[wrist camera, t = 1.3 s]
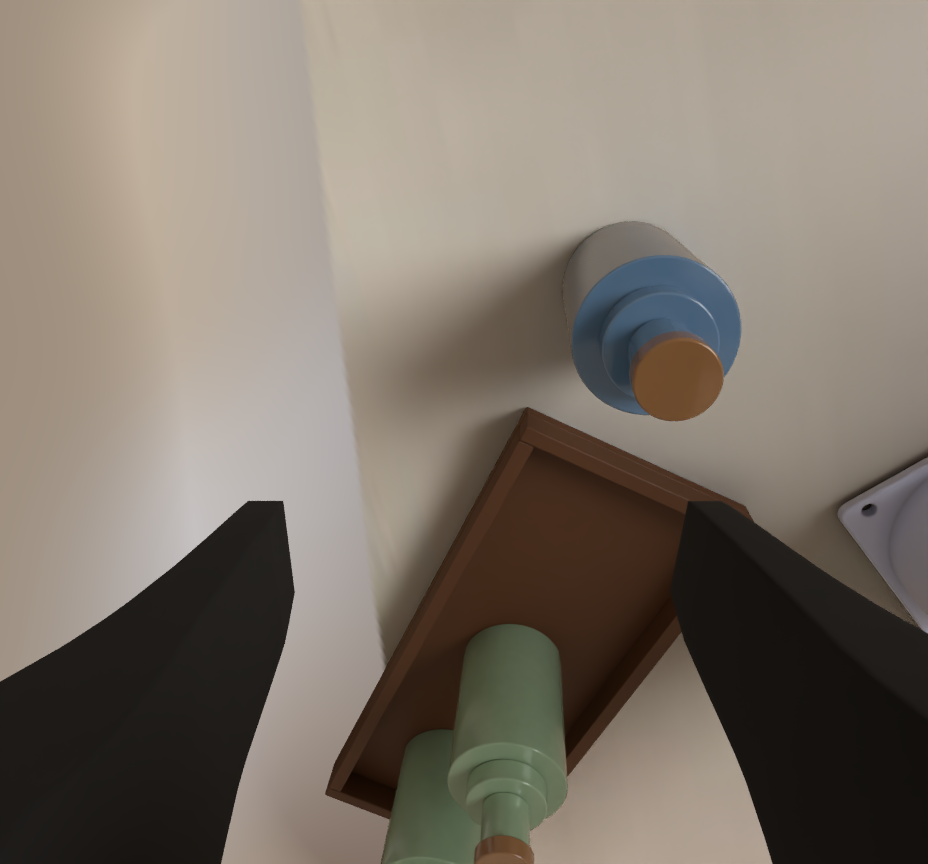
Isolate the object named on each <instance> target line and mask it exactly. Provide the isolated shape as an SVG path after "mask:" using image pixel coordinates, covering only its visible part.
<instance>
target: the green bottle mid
mask: <svg viewBox="0 0 928 864" xmlns="http://www.w3.org/2000/svg"><path fill="white" fill-rule="evenodd" d="M447 782H448V787H449V791H450V793H451V795H452V797H453V799H454V800H455V801H456V803H457V804H458V805H459V806H460V807H461V808H462V809H463V810H465V811H466V812H467V813H468V814H469V816H470V817H471V818H472V820H473V821H475V822H476V823H477V824H478V825H480V826H481V831H480V842H479V843H478V844H477V846H476V848H475V850H474V861H473V864H534V854H533V851H532V849H531V848H530V830H532V829H534V828H536V827H537V826H538V825H540V824H541V823H542V822H543V820H544V819H546V818H548V817H549V816H551V815H552V814H554V813H555V812H556V811H557V810H558V809H559V808H560V807H561V805H562V804H563V802H564V800H565V798H566V795H567V788H568V784H567V764H566V745H565V725H564V705H563V686H562V666H561V657H560V654H559V651H558V649H557V647H556V646H555V645H554V643H553V642H552V641H551V640H550V639H549V638H548V637H547V636H546V635H544V634H543V633H541V632H540V631H538V630H536V629H534V628H531V627H528V626H524V625H519V624H500V625H495V626H491V627H488V628H486V629H484V630H482V631H480V632H479V633H477V634H476V635H475V636H474V637H473V638H472V639H471V640H470V641H469V643H468V644H467V646H466V648H465V651H464V655H463V662H462V670H461V678H460V685H459V693H458V701H457V708H456V716H455V723H454V731H453V739H452V746H451V754H450V762H449V769H448V777H447Z"/></svg>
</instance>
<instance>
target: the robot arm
mask: <svg viewBox="0 0 928 864" xmlns="http://www.w3.org/2000/svg"><path fill="white" fill-rule="evenodd" d="M867 504H872V506H871V507H870V508H869V509H868V510H865V511H862V508H863V507H864V506H865V505H867ZM838 517H839V520H840V521H841V522H842V524H843V525H844V526H845V528H846V529H847V530H848V532H849V533H850V534H851V536H852V537H853V538H854V540H855V541H856V542H857V544H858V545H859V546H860V548H861V549H862V550H863V552H864V553H865V555H866V556H867V557H868V559H869V560H870V561H871V563H872V564H873V565H874V567H875V568H876V569H877V571H878V572H879V573H880V575H881V576H882V577H883V579H884V580H885V581H886V583H887V584H888V585H889V587H890V588H891V589H892V591H893V592H894V593H895V595H896V596H897V597H898V599H899V600H900V602H901V603H902V604H903V606H904V607H905V608H906V610H907V611H908V612H909V614H910V615H911V616H912V618H913V619H914V620H915V622H916V623H917V624H918V626H919V627H920V628H921V629H919V628H917V627H915V626H913V625H911V624H910V623H908V622H906V621H904V620H902V619H900V618H899V617H897V616H895V615H893V614H892V613H890V612H888V611H886V610H885V609H883V608H881V607H879V606H878V605H876V604H874V603H873V602H871V601H870V600H868V599H866V598H865V597H863V596H862V595H860V594H858V593H857V592H855V591H854V590H852V589H850V588H849V587H847V586H846V585H844V584H842V583H841V582H839V581H838V580H836V579H835V578H833V577H832V576H830V575H829V574H827V573H826V572H824V571H823V570H821V569H820V568H818V567H817V566H815V565H814V564H812V563H811V562H809V561H808V560H807V559H805V558H804V557H802V556H801V555H799V554H798V553H796V552H795V551H794V550H792V549H791V548H789V547H788V546H787V545H785V544H784V543H782V542H781V541H779V540H778V539H777V538H775V537H774V536H772V535H771V534H770V533H768V532H767V531H765V530H764V529H763V528H761V527H760V526H758V525H757V524H756V523H754V522H753V521H751V520H750V519H749V518H747V517H746V516H744V515H743V514H741V513H740V512H738V511H737V510H735V509H734V508H732V507H731V506H729V505H727V504H726V503H724V502H722V501H688V504H687V509H686V514H685V519H684V524H683V529H682V534H681V539H680V544H679V549H678V553H677V558H676V563H675V568H674V573H673V578H672V583H671V588H670V592H671V596H672V600H673V603H674V607H675V611H676V614H677V618H678V621H679V625H680V628H681V631H682V634H683V638H684V641H685V643H686V645H687V648H688V650H689V652H690V655H691V657H692V659H693V662H694V664H695V666H696V668H697V671H698V673H699V675H700V677H701V680H702V682H703V684H704V686H705V689H706V691H707V693H708V695H709V697H710V700H711V702H712V704H713V706H714V709H715V711H716V713H717V715H718V717H719V720H720V722H721V724H722V726H723V728H724V731H725V733H726V735H727V737H728V740H729V742H730V744H731V746H732V748H733V751H734V753H735V755H736V758H737V760H738V763H739V765H740V768H741V770H742V773H743V775H744V778H745V780H746V783H747V786H748V789H749V792H750V795H751V798H752V801H753V804H754V807H755V810H756V813H757V816H758V819H759V822H760V825H761V828H762V831H763V834H764V837H765V840H766V843H767V847H768V850H769V853H770V856H771V860H772V863H773V864H928V457H927V458H925V459H923V460H921V461H920V462H918V463H916V464H914V465H912V466H911V467H909V468H907V469H905V470H904V471H902V472H900V473H898V474H896V475H895V476H893V477H891V478H889V479H887V480H886V481H884V482H882V483H880V484H878V485H877V486H875V487H873V488H871V489H870V490H868V491H866V492H864V493H862V494H861V495H859V496H857V497H855V498H853V499H852V500H850V501H848V502H846V503H845V504H843V505H842V506H841V507H840V509H839V510H838ZM294 593H295V592H294V585H293V576H292V568H291V560H290V552H289V544H288V536H287V528H286V520H285V512H284V504H283V501H248V502H247V503H245V504H244V505H243V506H242V507H241V508H239V509H238V510H237V511H236V512H235V513H234V514H233V515H232V516H231V517H229V518H228V519H227V520H226V521H225V522H224V523H223V524H222V525H221V526H219V527H218V528H217V529H216V530H215V531H214V532H213V533H212V534H211V535H209V536H208V537H207V538H206V539H205V540H204V541H203V542H202V543H200V544H199V545H198V546H197V547H196V548H195V549H193V550H192V551H191V552H190V553H189V554H188V555H187V556H186V557H184V558H183V559H182V560H181V561H180V562H178V563H177V564H176V565H175V566H174V567H172V568H171V569H170V570H169V571H168V572H166V573H165V574H164V575H162V576H161V577H160V578H158V579H157V580H156V581H155V582H153V583H152V584H151V585H150V586H148V587H147V588H146V589H145V590H143V591H142V592H141V593H139V594H138V595H137V596H136V597H134V598H133V599H132V600H130V601H129V602H128V603H126V604H125V605H124V606H122V607H121V608H119V609H118V610H117V611H115V612H114V613H112V614H111V615H110V616H108V617H107V618H105V619H104V620H102V621H101V622H99V623H98V624H96V625H95V626H93V627H92V628H90V629H89V630H87V631H86V632H84V633H83V634H81V635H79V636H78V637H76V638H75V639H73V640H72V641H70V642H69V643H67V644H66V645H64V646H62V647H61V648H59V649H57V650H55V651H54V652H52V653H50V654H48V655H47V656H45V657H43V658H41V659H39V660H38V661H36V662H34V663H33V664H31V665H29V666H27V667H25V668H24V669H22V670H20V671H19V672H17V673H15V674H13V675H11V676H10V677H8V678H6V679H4V680H3V681H1V682H0V864H221V860H222V856H223V852H224V847H225V842H226V838H227V834H228V829H229V824H230V821H231V816H232V812H233V807H234V803H235V799H236V794H237V790H238V786H239V782H240V779H241V775H242V772H243V768H244V765H245V761H246V758H247V755H248V752H249V749H250V746H251V743H252V740H253V737H254V734H255V731H256V728H257V725H258V723H259V719H260V717H261V714H262V711H263V708H264V705H265V702H266V699H267V696H268V693H269V690H270V687H271V684H272V681H273V678H274V675H275V672H276V669H277V665H278V662H279V660H280V656H281V653H282V650H283V647H284V644H285V639H286V635H287V629H288V624H289V619H290V614H291V609H292V603H293V598H294Z"/></svg>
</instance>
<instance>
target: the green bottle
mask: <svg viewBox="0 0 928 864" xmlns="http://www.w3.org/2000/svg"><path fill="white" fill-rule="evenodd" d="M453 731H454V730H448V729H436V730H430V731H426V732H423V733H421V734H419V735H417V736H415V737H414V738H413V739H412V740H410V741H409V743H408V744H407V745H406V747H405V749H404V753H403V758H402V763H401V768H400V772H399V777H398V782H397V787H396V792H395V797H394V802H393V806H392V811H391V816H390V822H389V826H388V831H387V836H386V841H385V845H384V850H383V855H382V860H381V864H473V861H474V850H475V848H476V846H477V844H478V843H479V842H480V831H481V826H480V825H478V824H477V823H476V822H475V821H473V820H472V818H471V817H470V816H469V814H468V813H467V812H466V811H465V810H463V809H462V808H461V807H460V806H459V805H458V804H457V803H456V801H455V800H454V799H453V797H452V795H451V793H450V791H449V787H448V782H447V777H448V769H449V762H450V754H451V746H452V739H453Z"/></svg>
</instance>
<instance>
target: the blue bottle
mask: <svg viewBox="0 0 928 864" xmlns="http://www.w3.org/2000/svg"><path fill="white" fill-rule="evenodd" d="M562 293H563V302H564V308H565V314H566V320H567V326H568V332H569V339H570V345H571V351H572V356H573V360H574V364H575V367H576V369H577V372H578V374H579V376H580V378H581V379H582V381H583V383H584V384H585V385H586V386H587V388H588V389H589V390H590V391H591V392H592V393H593V394H594V395H595V396H596V397H597V398H599V399H600V400H601V401H603V402H604V403H606V404H608V405H609V406H611V407H613V408H616V409H618V410H621V411H624V412H628V413H632V414H639V415H651V416H653V417H655V418H658V419H661V420H666V421H683V420H687V419H690V418H693V417H695V416H697V415H699V414H701V413H703V412H704V411H705V410H707V409H708V408H709V407H710V406H711V405H712V404H713V403H714V401H715V400H716V399H717V397H718V395H719V393H720V391H721V389H722V385H723V379H724V377H725V375H726V374H727V373H728V371H729V369H730V367H731V366H732V364H733V362H734V359H735V357H736V355H737V351H738V348H739V344H740V337H741V319H740V312H739V309H738V305H737V302H736V300H735V298H734V296H733V294H732V292H731V290H730V289H729V287H728V286H727V284H726V283H725V282H724V281H723V280H722V279H721V278H720V277H719V276H718V275H717V274H716V273H715V272H714V271H713V270H711V269H710V268H709V267H708V266H707V265H706V264H704V263H703V262H702V261H701V260H700V259H698V258H697V257H696V256H695V255H694V254H693V253H691V252H690V251H689V250H688V249H687V248H685V247H684V246H683V245H682V244H681V243H680V242H678V241H677V240H676V239H675V238H674V237H672V236H671V235H670V234H669V233H667V232H666V231H664V230H663V229H661V228H659V227H657V226H654V225H652V224H648V223H644V222H635V221H632V222H621V223H616V224H612V225H609V226H606V227H604V228H602V229H600V230H598V231H596V232H595V233H593V234H592V235H590V236H589V237H588V238H587V239H585V240H584V241H583V242H582V243H581V244H580V245H579V247H578V248H577V249H576V251H575V252H574V253H573V255H572V257H571V258H570V260H569V262H568V265H567V267H566V270H565V273H564V278H563V286H562Z"/></svg>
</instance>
